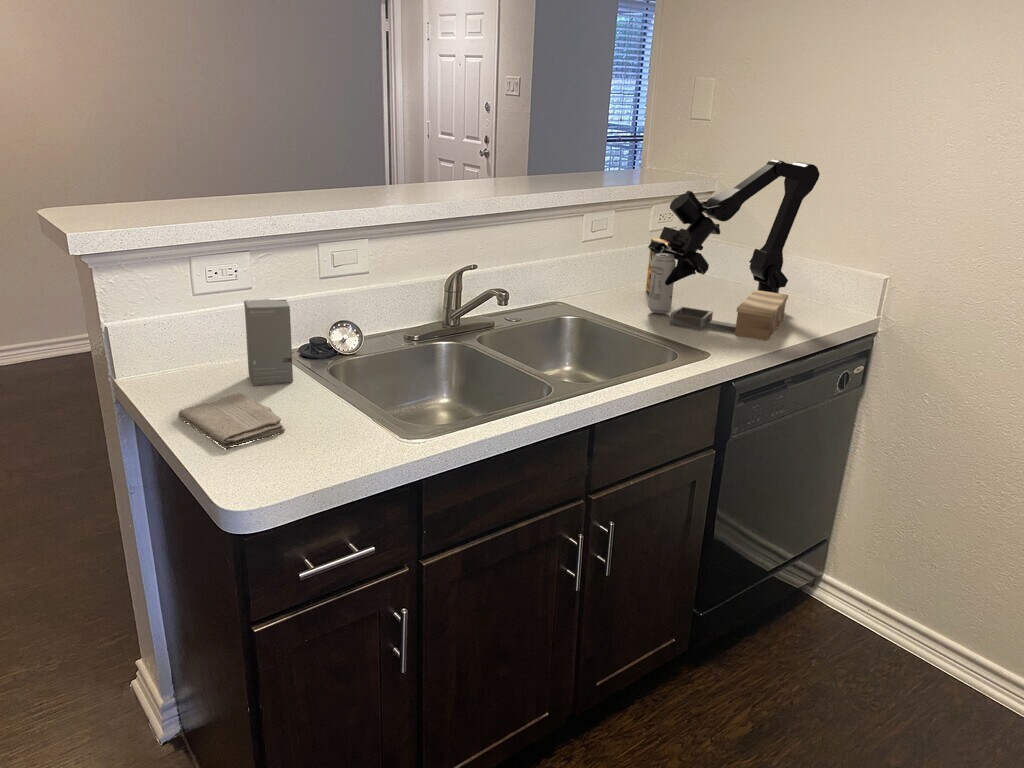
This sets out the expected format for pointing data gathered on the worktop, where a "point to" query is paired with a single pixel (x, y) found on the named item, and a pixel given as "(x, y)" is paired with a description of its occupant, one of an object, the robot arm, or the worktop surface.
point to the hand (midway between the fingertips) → (658, 281)
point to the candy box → (651, 262)
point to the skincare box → (268, 341)
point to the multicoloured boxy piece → (739, 316)
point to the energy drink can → (661, 283)
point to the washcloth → (233, 420)
